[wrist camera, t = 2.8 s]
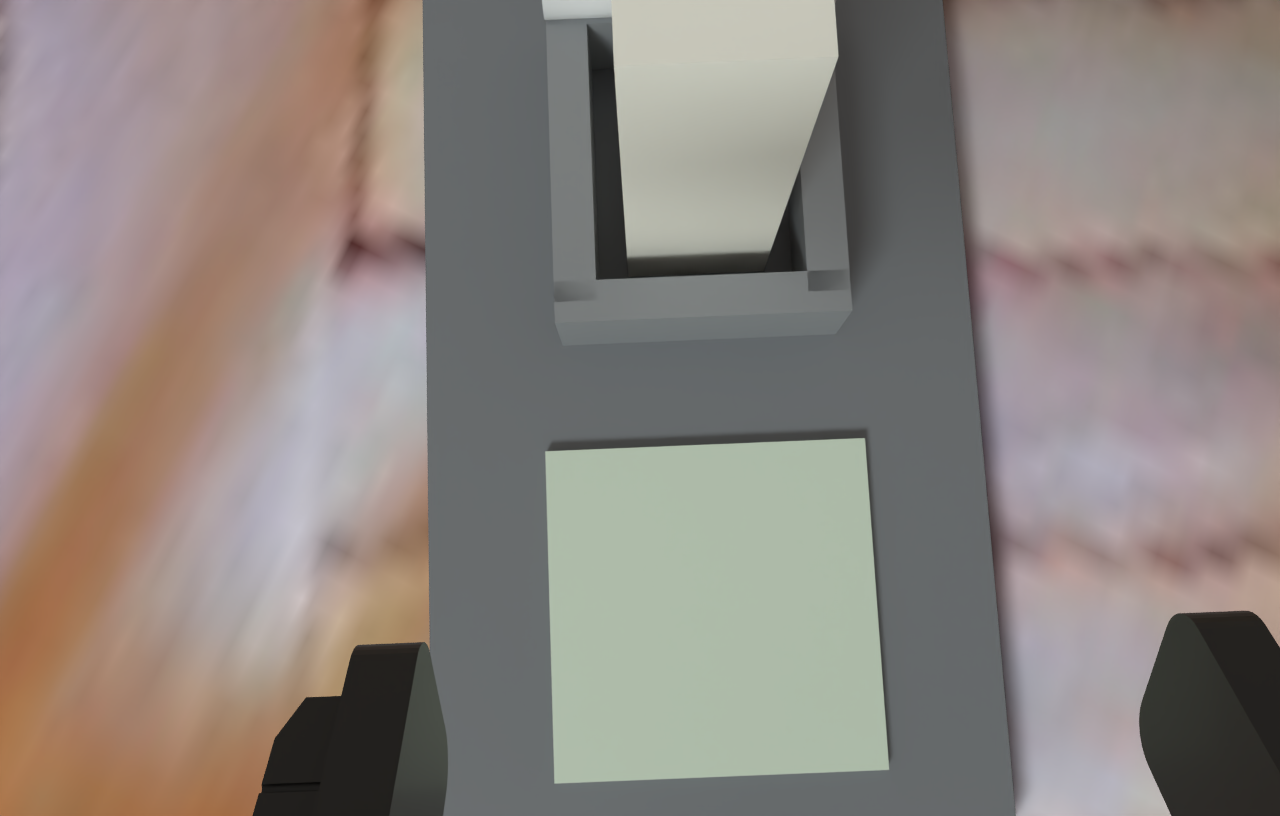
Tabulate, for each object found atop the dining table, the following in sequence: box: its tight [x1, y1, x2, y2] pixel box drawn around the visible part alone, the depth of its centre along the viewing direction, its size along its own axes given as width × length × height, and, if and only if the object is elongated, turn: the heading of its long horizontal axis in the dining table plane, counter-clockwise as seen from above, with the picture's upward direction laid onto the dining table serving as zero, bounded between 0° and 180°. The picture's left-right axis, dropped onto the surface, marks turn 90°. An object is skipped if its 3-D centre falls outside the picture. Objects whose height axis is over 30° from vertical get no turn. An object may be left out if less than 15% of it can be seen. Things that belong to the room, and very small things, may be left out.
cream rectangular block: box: [611, 0, 839, 277], centre depth 24 cm, size 4×5×12 cm
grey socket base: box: [423, 0, 1016, 816], centre depth 28 cm, size 14×24×5 cm, turn 2°
